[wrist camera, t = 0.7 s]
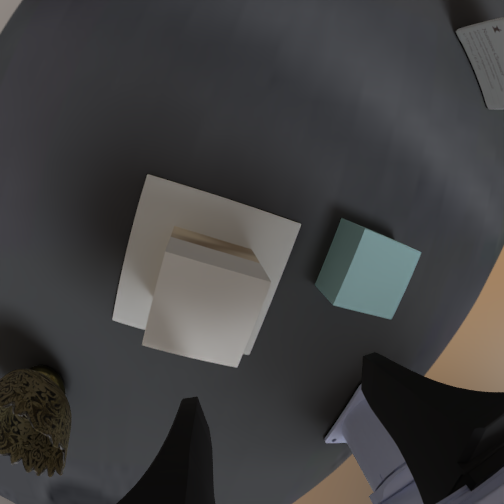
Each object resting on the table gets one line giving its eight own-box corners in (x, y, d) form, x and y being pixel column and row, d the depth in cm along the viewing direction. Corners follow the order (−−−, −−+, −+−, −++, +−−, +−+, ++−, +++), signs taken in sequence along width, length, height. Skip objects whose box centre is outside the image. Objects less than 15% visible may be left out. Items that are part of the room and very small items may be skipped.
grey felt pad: (299, 223, 20) (301, 224, 20) (248, 352, 22) (249, 355, 22) (148, 174, 18) (147, 174, 18) (113, 318, 20) (112, 320, 20)
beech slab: (251, 249, 20) (260, 263, 17) (226, 318, 21) (231, 340, 18) (174, 226, 19) (170, 236, 16) (154, 298, 20) (148, 319, 17)
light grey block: (260, 263, 17) (271, 281, 15) (231, 340, 18) (237, 367, 16) (170, 236, 16) (165, 251, 13) (148, 319, 17) (142, 345, 14)
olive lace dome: (3, 335, 19) (-44, 392, 11) (78, 347, 20) (42, 419, 13) (26, 403, 21) (-3, 463, 13) (95, 416, 22) (76, 486, 14)
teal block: (393, 239, 22) (421, 252, 19) (368, 299, 23) (391, 319, 20) (340, 217, 21) (365, 228, 18) (313, 284, 22) (333, 305, 19)
